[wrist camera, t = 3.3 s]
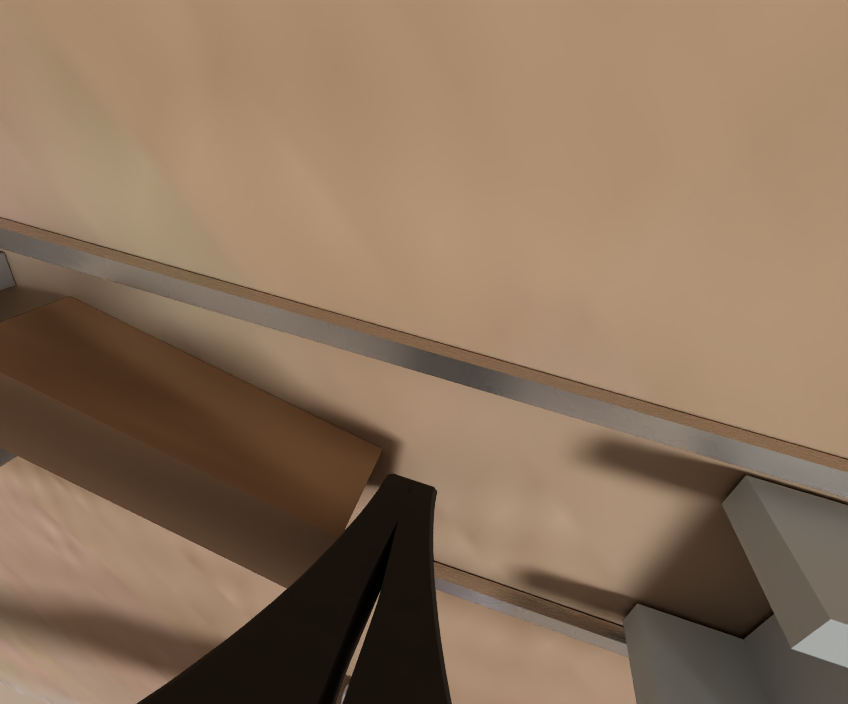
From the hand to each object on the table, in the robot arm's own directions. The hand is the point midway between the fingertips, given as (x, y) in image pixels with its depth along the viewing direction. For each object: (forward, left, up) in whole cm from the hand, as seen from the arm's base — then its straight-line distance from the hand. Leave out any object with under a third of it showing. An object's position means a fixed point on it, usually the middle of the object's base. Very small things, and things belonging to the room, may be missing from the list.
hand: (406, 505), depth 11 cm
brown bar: (0, +6, -1) cm, 6 cm away
